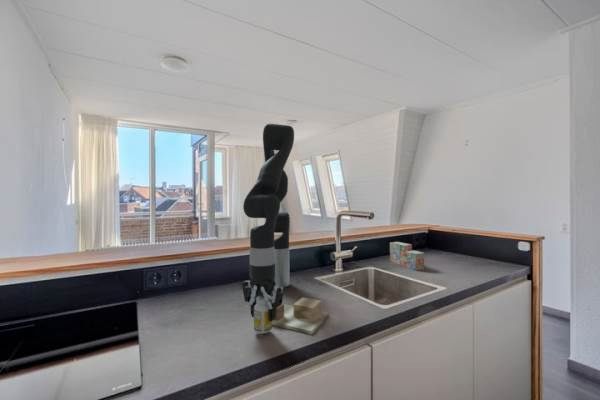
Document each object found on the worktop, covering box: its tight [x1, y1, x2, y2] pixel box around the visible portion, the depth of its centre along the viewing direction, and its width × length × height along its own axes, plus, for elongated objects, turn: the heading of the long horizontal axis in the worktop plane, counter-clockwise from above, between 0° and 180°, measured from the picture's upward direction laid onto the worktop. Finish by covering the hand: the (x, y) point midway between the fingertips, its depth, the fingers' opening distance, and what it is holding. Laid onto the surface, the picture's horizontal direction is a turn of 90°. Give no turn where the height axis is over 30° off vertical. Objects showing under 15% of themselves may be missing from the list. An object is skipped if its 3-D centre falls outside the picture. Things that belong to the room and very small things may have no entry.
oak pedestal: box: [292, 297, 322, 320], centre depth 94 cm, size 7×7×4 cm
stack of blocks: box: [389, 241, 425, 271], centre depth 162 cm, size 21×6×12 cm, turn 21°
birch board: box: [272, 303, 330, 335], centre depth 92 cm, size 18×14×1 cm
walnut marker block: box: [274, 303, 285, 321], centre depth 92 cm, size 4×4×4 cm
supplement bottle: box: [253, 296, 273, 335], centre depth 83 cm, size 5×5×10 cm
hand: (263, 317), depth 83 cm, fingers closed on supplement bottle, 5 cm apart
